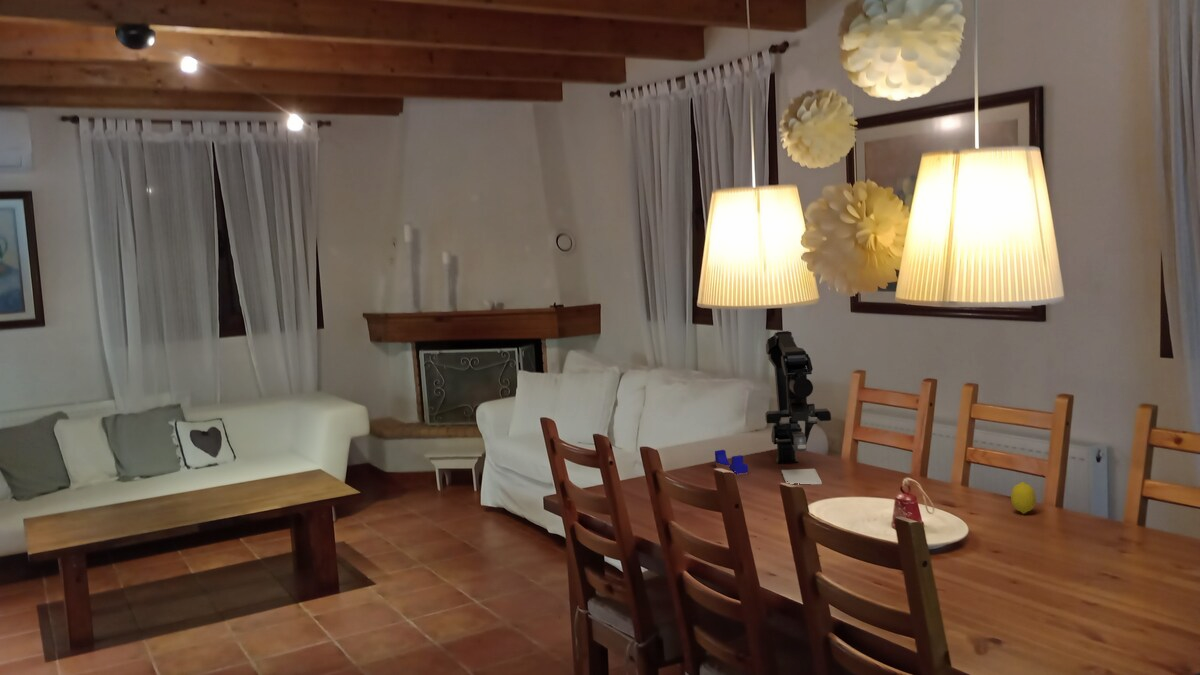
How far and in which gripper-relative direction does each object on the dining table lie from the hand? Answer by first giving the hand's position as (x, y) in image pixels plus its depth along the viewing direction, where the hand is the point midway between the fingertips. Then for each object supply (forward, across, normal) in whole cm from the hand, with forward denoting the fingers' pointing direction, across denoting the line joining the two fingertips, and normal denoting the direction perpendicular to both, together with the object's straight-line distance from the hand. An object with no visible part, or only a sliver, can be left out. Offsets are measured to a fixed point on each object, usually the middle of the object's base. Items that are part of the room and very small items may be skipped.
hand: (799, 444), depth 282 cm
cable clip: (+10, -20, +11) cm, 25 cm away
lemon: (+10, +49, -46) cm, 68 cm away
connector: (+1, 0, -2) cm, 2 cm away
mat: (+10, 0, -1) cm, 10 cm away
